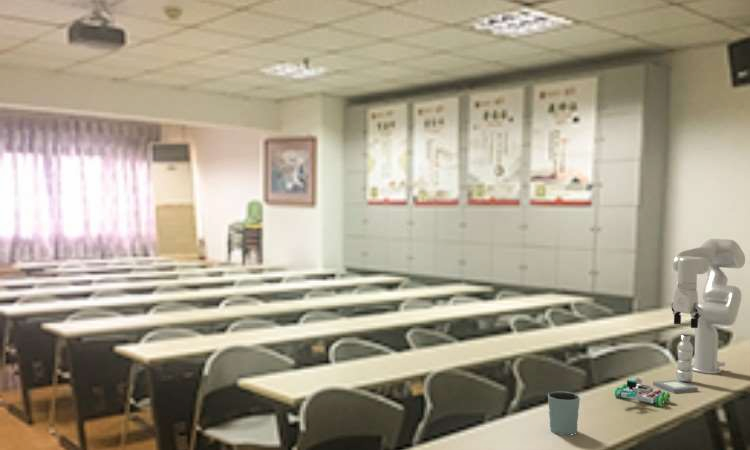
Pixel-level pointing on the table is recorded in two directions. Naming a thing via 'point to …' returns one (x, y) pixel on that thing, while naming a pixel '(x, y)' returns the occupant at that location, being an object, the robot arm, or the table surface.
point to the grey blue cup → (563, 412)
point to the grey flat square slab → (675, 386)
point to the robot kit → (642, 392)
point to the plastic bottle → (684, 359)
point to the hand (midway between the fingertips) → (685, 325)
